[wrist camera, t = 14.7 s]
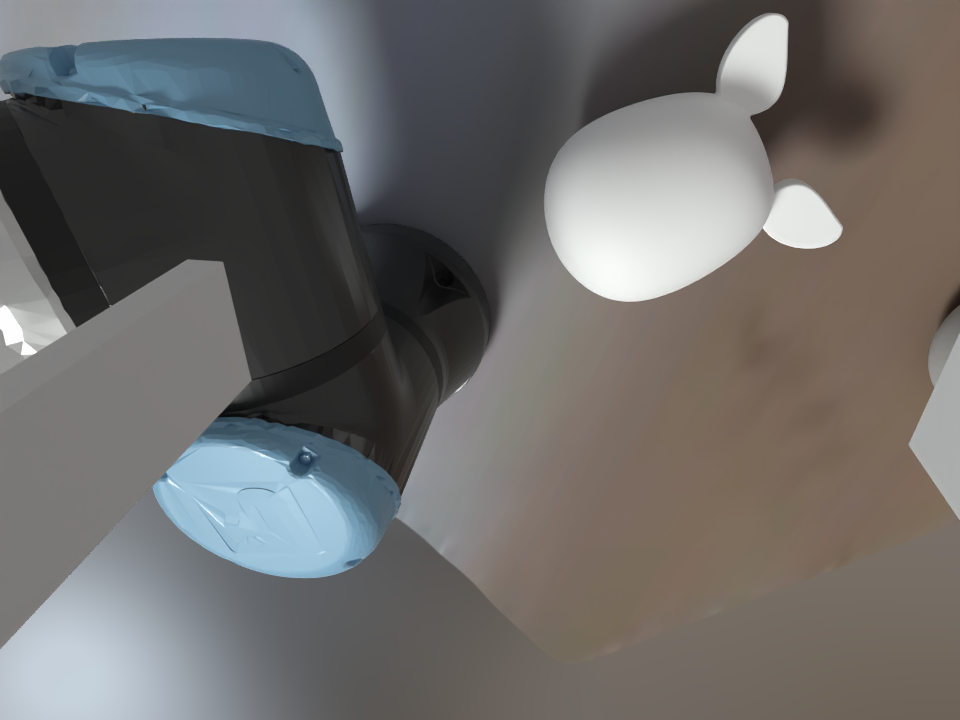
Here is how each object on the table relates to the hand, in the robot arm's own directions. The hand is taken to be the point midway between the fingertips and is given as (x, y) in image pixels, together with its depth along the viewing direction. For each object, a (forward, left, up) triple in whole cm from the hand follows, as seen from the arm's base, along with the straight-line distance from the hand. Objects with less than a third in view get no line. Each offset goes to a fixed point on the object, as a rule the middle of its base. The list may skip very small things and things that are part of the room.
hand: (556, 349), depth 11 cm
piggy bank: (+6, -4, -32) cm, 33 cm away
